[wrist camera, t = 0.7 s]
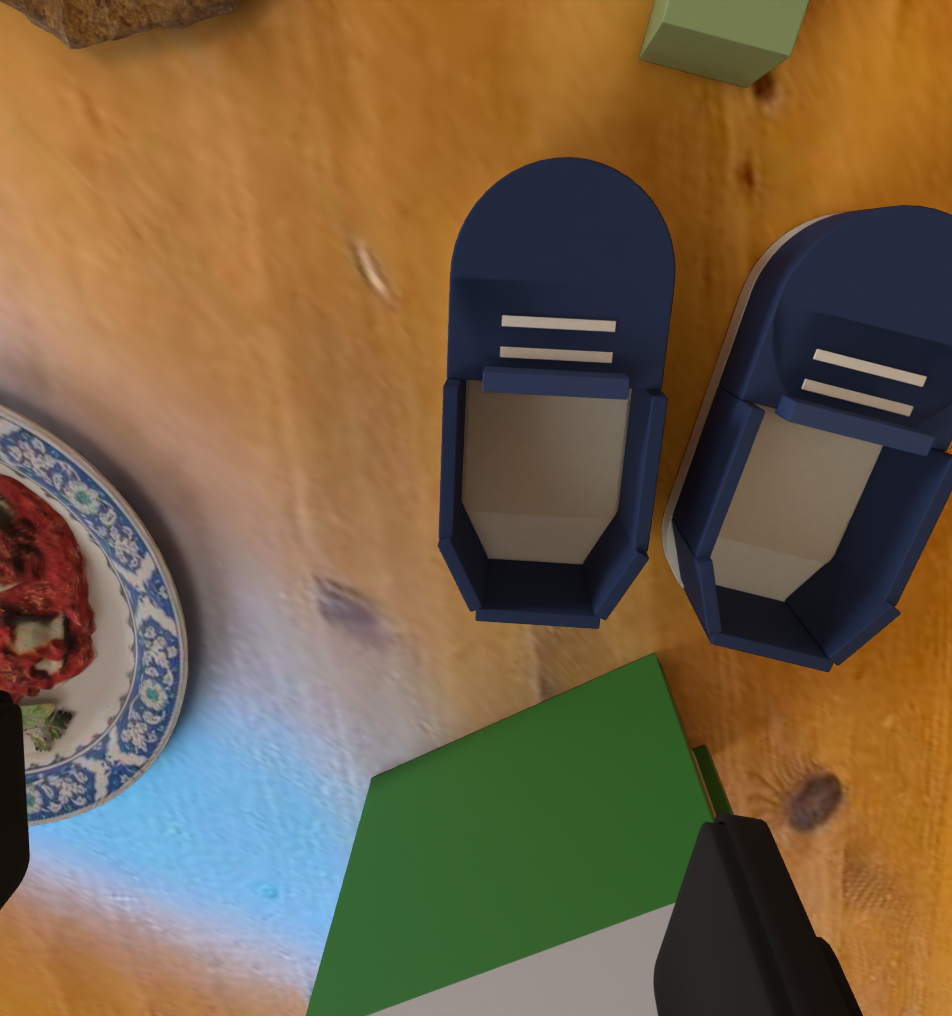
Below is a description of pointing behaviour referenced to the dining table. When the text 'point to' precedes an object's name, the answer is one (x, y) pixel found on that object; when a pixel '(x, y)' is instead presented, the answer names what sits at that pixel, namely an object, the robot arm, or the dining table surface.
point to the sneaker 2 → (821, 439)
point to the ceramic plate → (82, 626)
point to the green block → (723, 36)
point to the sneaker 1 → (554, 393)
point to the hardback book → (525, 862)
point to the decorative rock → (115, 16)
